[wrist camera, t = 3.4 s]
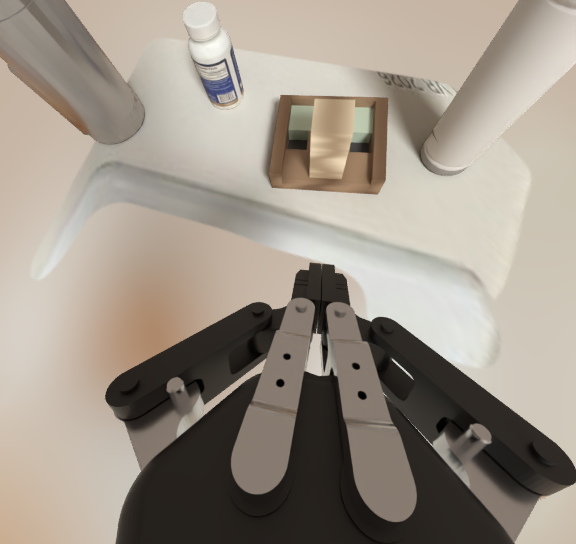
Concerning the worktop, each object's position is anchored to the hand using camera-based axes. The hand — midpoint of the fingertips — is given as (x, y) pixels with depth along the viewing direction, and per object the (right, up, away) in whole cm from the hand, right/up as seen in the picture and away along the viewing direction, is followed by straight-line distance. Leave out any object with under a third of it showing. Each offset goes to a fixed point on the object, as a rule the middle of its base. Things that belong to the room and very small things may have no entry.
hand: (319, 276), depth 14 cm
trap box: (+3, +17, +18) cm, 25 cm away
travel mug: (+19, +16, +16) cm, 29 cm away
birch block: (+3, +14, +15) cm, 21 cm away
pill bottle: (-11, +27, +21) cm, 36 cm away
